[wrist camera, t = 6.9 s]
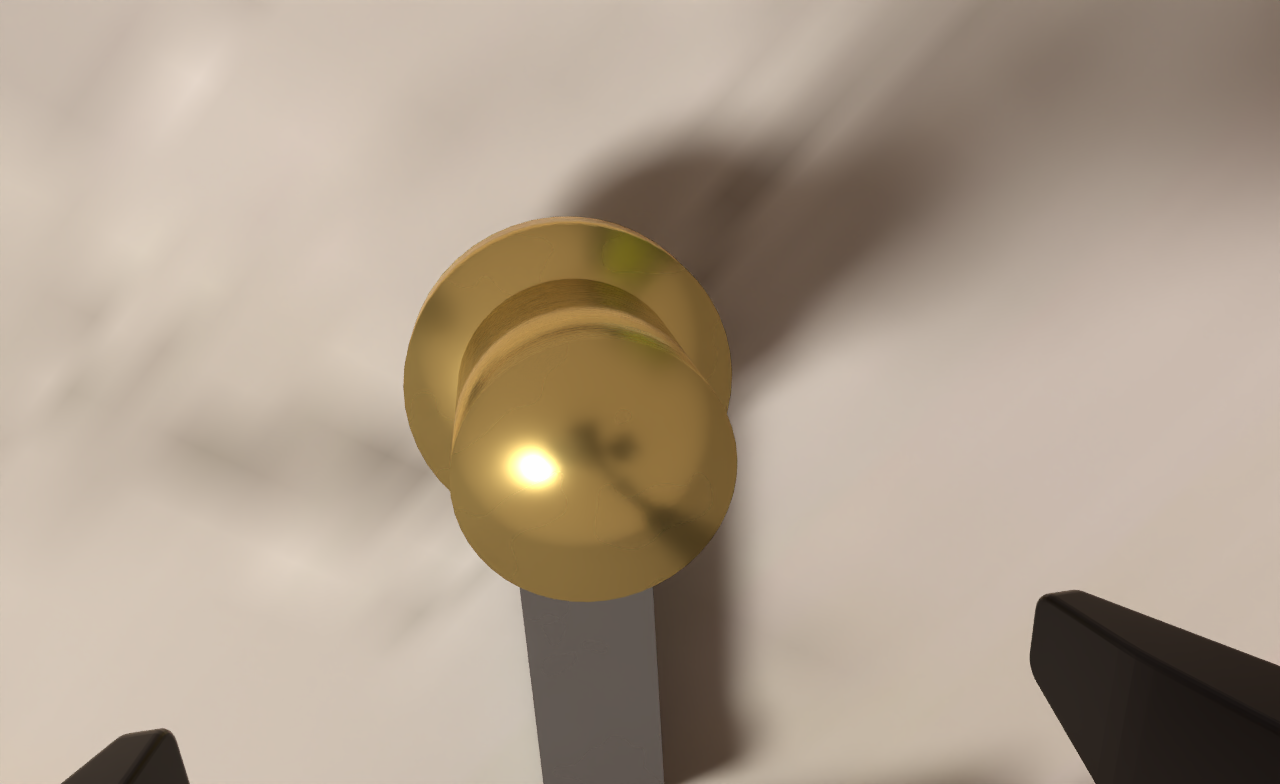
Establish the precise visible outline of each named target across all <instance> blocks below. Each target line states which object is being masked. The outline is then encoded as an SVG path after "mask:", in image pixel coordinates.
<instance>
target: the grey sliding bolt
mask: <svg viewBox="0 0 1280 784" xmlns="http://www.w3.org/2000/svg"><path fill="white" fill-rule="evenodd" d="M731 380H732V368H731V356H730V350H729V345H728V341H727V336H726V332H725V330H724V327H723V324H722V322H721V319H720V317H719V314H718V312H717V310H716V309H715V307H714V305H713V303H712V301H711V299H710V298H709V296H708V295H707V293H706V292H705V291H704V289H703V288H702V286H701V285H700V284H699V282H698V281H697V280H696V279H695V278H694V277H693V276H692V275H691V274H690V273H689V272H688V271H687V270H686V269H685V268H684V267H683V266H682V265H681V264H680V263H679V262H678V261H677V260H676V259H675V258H674V257H673V256H672V255H671V254H670V253H668V252H667V251H666V250H664V249H663V248H662V247H661V246H659V245H658V244H657V243H655V242H654V241H652V240H650V239H648V238H647V237H645V236H643V235H641V234H640V233H638V232H636V231H633V230H631V229H628V228H626V227H623V226H621V225H618V224H615V223H611V222H607V221H603V220H599V219H593V218H584V217H550V218H543V219H537V220H531V221H528V222H524V223H521V224H517V225H514V226H511V227H509V228H506V229H504V230H502V231H499V232H497V233H495V234H492V235H491V236H489V237H487V238H486V239H484V240H482V241H481V242H479V243H477V244H476V245H474V246H473V247H471V248H470V249H469V250H468V251H466V252H465V253H464V254H463V255H462V256H460V257H459V258H458V259H457V260H456V261H455V262H454V263H453V264H452V265H451V266H450V267H449V268H448V269H447V270H446V271H445V272H444V273H443V274H442V276H441V277H440V278H439V280H438V281H437V283H436V284H435V285H434V287H433V288H432V290H431V291H430V292H429V294H428V296H427V298H426V300H425V302H424V304H423V306H422V308H421V310H420V312H419V315H418V318H417V320H416V323H415V326H414V329H413V332H412V336H411V339H410V342H409V346H408V351H407V356H406V361H405V367H404V386H403V388H404V399H405V409H406V413H407V417H408V421H409V426H410V429H411V432H412V434H413V437H414V439H415V442H416V444H417V447H418V449H419V450H420V452H421V454H422V456H423V458H424V459H425V461H426V463H427V465H428V466H429V467H430V469H431V470H432V471H433V473H434V474H435V475H436V476H437V478H438V479H439V480H440V481H441V482H442V483H443V484H444V485H445V486H446V487H447V488H448V489H449V490H450V493H451V499H452V504H453V508H454V513H455V515H456V518H457V520H458V523H459V526H460V528H461V530H462V532H463V534H464V535H465V537H466V539H467V541H468V543H469V544H470V545H471V547H472V548H473V549H474V551H475V552H476V553H477V555H478V556H479V557H480V558H481V559H482V560H483V561H484V562H485V563H486V564H487V565H488V566H489V567H490V568H491V569H492V570H494V571H495V572H496V573H498V574H499V575H500V576H502V577H503V578H504V579H506V580H507V581H509V582H511V583H513V584H515V585H516V586H518V587H520V593H521V601H522V609H523V618H524V626H525V634H526V643H527V651H528V659H529V667H530V676H531V684H532V692H533V700H534V709H535V717H536V725H537V733H538V742H539V750H540V758H541V767H542V775H543V783H544V784H664V772H663V755H662V737H661V720H660V703H659V686H658V668H657V651H656V634H655V616H654V599H653V586H655V585H657V584H659V583H661V582H663V581H664V580H666V579H668V578H669V577H671V576H673V575H674V574H676V573H677V572H678V571H680V570H681V569H682V568H684V567H685V566H686V565H688V564H689V563H690V562H691V561H692V560H693V559H694V558H695V557H696V556H697V555H698V554H699V553H700V552H701V551H702V550H703V549H704V547H705V546H706V545H707V544H708V543H709V541H710V540H711V539H712V537H713V536H714V534H715V533H716V531H717V530H718V528H719V527H720V525H721V523H722V521H723V519H724V517H725V515H726V513H727V510H728V508H729V505H730V502H731V499H732V496H733V492H734V487H735V482H736V475H737V452H736V442H735V438H734V434H733V430H732V426H731V424H730V421H729V419H728V416H727V410H728V405H729V400H730V394H731Z"/></svg>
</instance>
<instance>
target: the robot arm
mask: <svg viewBox="0 0 1280 784" xmlns="http://www.w3.org/2000/svg"><path fill="white" fill-rule="evenodd" d="M1030 666H1031V670H1032V673H1033V675H1034V678H1035V680H1036V682H1037V684H1038V685H1039V687H1040V689H1041V691H1042V692H1043V694H1044V696H1045V697H1046V699H1047V701H1048V703H1049V704H1050V706H1051V708H1052V709H1053V711H1054V713H1055V715H1056V716H1057V718H1058V720H1059V721H1060V723H1061V725H1062V727H1063V728H1064V730H1065V732H1066V733H1067V735H1068V737H1069V739H1070V740H1071V742H1072V744H1073V745H1074V747H1075V749H1076V751H1077V752H1078V754H1079V756H1080V758H1081V759H1082V761H1083V763H1084V764H1085V766H1086V768H1087V770H1088V771H1089V773H1090V775H1091V776H1092V778H1093V780H1094V782H1095V783H1096V784H1280V666H1278V665H1276V664H1273V663H1271V662H1268V661H1265V660H1263V659H1260V658H1257V657H1255V656H1252V655H1249V654H1247V653H1244V652H1242V651H1239V650H1236V649H1234V648H1231V647H1228V646H1226V645H1223V644H1220V643H1218V642H1215V641H1212V640H1210V639H1207V638H1205V637H1202V636H1199V635H1197V634H1194V633H1191V632H1189V631H1186V630H1183V629H1181V628H1178V627H1176V626H1173V625H1170V624H1168V623H1165V622H1162V621H1160V620H1157V619H1154V618H1152V617H1149V616H1146V615H1144V614H1141V613H1139V612H1136V611H1133V610H1131V609H1128V608H1125V607H1123V606H1120V605H1117V604H1115V603H1112V602H1110V601H1107V600H1104V599H1102V598H1099V597H1096V596H1094V595H1091V594H1088V593H1086V592H1083V591H1080V590H1069V591H1062V592H1056V593H1049V594H1045V595H1043V596H1042V597H1041V598H1040V599H1039V600H1038V602H1037V605H1036V610H1035V617H1034V625H1033V633H1032V640H1031V648H1030ZM61 784H190V783H189V780H188V777H187V773H186V770H185V767H184V764H183V760H182V757H181V754H180V751H179V747H178V744H177V741H176V739H175V737H174V735H173V734H172V732H171V731H169V730H167V729H164V728H161V729H154V730H147V731H141V732H134V733H129V734H125V735H122V736H120V737H119V738H117V739H116V740H115V741H113V742H112V743H111V744H110V745H108V746H107V747H106V748H105V749H103V750H102V751H101V752H100V753H98V754H97V755H96V756H95V757H93V758H92V759H91V760H90V761H89V762H87V763H86V764H85V765H84V766H82V767H81V768H80V769H79V770H77V771H76V772H75V773H74V774H72V775H71V776H70V777H69V778H67V779H66V780H65V781H64V782H63V783H61Z"/></svg>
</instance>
